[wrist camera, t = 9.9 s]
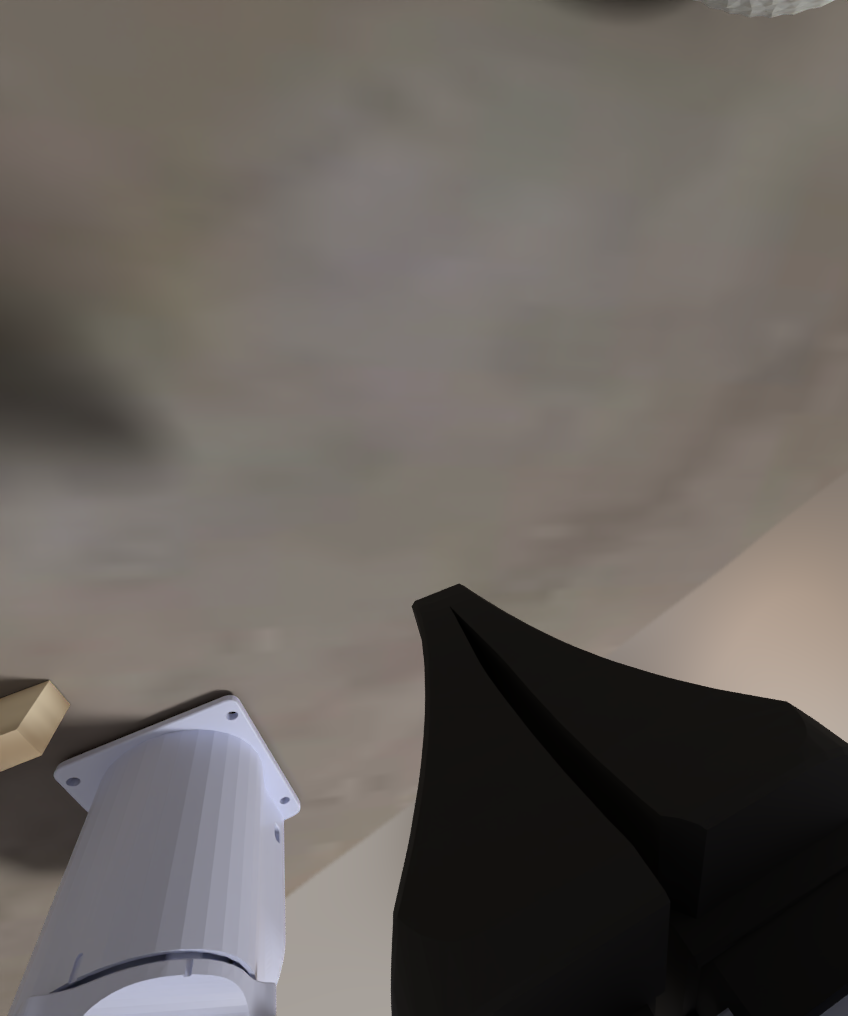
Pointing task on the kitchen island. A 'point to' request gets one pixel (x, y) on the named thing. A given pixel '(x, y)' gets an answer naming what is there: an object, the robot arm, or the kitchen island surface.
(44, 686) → the wooden bar frame
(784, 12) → the cereal bowl
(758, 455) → the kitchen island surface
